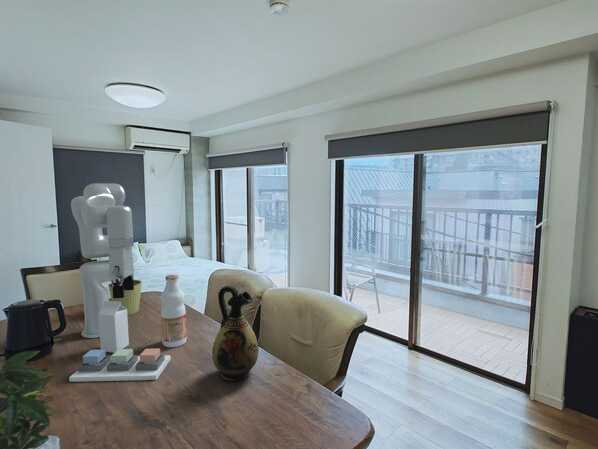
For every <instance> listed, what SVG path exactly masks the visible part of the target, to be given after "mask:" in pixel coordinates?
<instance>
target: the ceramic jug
mask: <svg viewBox="0 0 598 449" xmlns="http://www.w3.org/2000/svg"><path fill="white" fill-rule="evenodd" d="M226 293H231V296H232V297H231V298H229V300H228V301H227V305H226V301H225V294H226ZM217 297H218V299H217V300H218V304H219V308H220V312H221V314H222V320H221V322H220V326H219V330H218V332H217V335H216V336H215V339H214V341H213V345H212V352H211V353H212V354H211V355H212V362H213V364H214V366H215V367H216V369H218V371H219V372H220V376H221V377H222V379H224V380H225V381H228V382H232V383H238V382H240V381H243V380H245V379H248V378H249V375H250V371H251V370H252V369H253V368H254V366H255V365H256V364H257V361H258V359H259V350H260V349H259V344H258V339H257V336H256V334H255V332H254V330H253V328H252V326H251V325H250V323H249V322H248V320H247V319H246V318H245V316H244V314H243V312H242V307H244V306H247V305H249V304H252V303H253V302H254V298H253V297H252V295H251V294H250V293H249V292H247V291H244V292H240V293H239V292H238V290H237V288H236V287H234V286H231V285H225V286H223V287H221V289H220V290H219V291H218V295H217ZM227 306H229V307H230V311H229V313H228V309H227Z"/></svg>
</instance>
